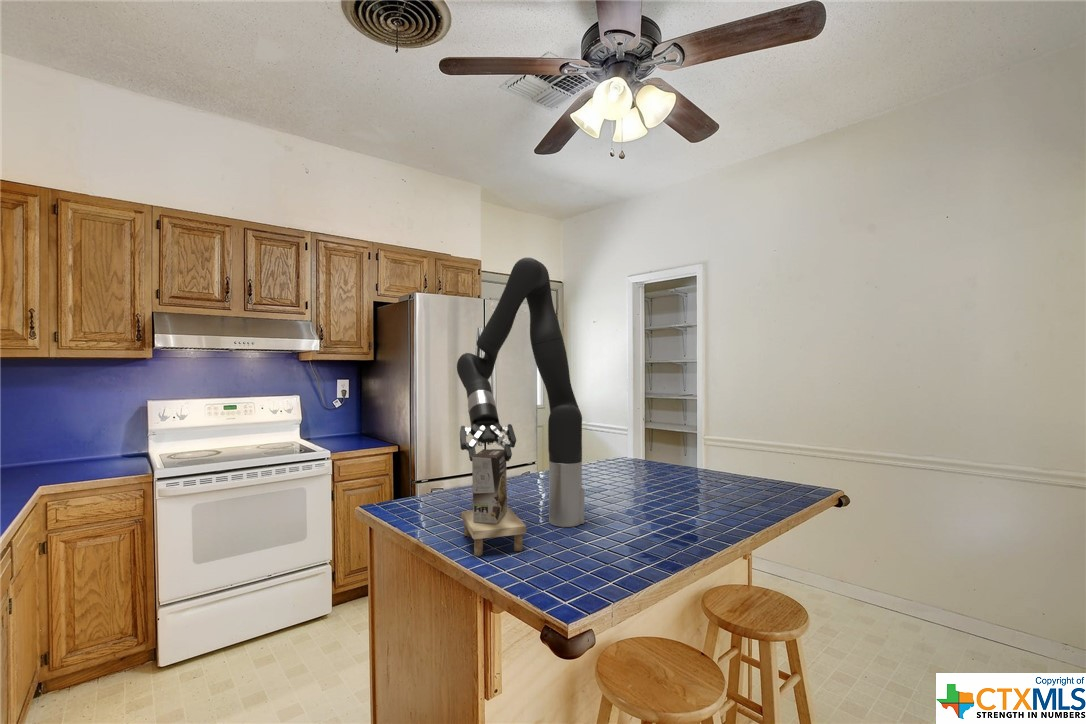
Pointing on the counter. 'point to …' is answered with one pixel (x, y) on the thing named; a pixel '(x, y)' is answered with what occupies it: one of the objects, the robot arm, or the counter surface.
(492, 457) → the coffee box
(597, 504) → the counter surface
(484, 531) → the footstool
